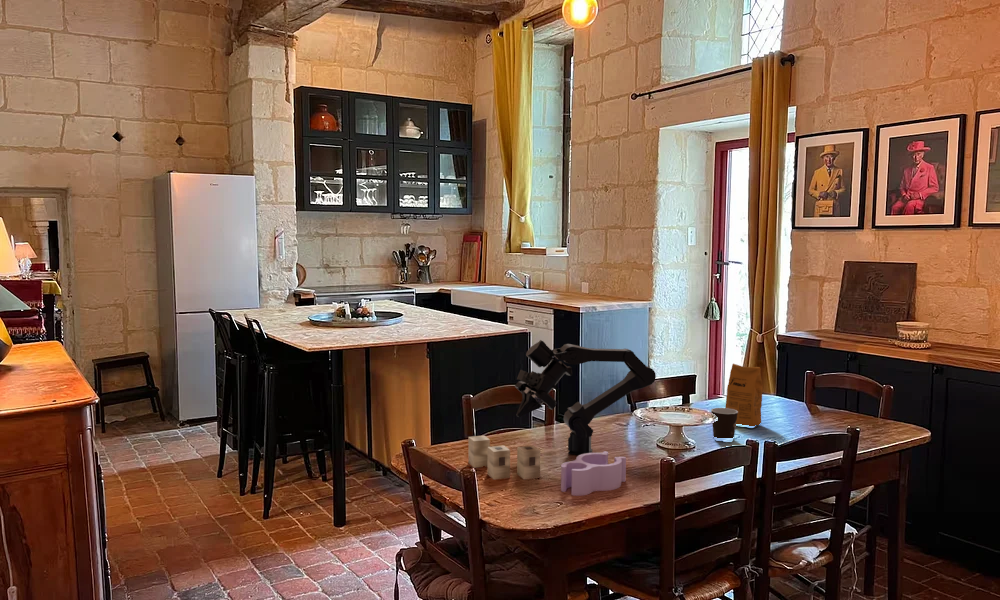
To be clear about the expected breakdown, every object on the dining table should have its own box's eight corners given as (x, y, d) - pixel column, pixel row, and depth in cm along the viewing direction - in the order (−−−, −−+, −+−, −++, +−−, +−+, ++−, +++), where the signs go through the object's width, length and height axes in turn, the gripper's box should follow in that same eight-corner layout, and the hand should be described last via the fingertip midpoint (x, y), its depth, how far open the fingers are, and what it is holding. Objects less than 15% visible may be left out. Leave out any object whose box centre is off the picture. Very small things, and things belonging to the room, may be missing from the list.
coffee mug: (727, 445, 244) (728, 415, 243) (705, 439, 251) (706, 410, 250) (746, 438, 252) (747, 409, 251) (724, 433, 258) (725, 405, 257)
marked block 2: (533, 472, 216) (533, 444, 215) (540, 477, 211) (540, 449, 210) (517, 474, 214) (517, 446, 213) (524, 479, 209) (524, 451, 208)
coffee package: (733, 419, 278) (735, 361, 276) (765, 425, 269) (767, 365, 267) (720, 424, 271) (722, 364, 269) (752, 430, 262) (754, 369, 260)
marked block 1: (503, 472, 215) (504, 444, 215) (510, 477, 211) (510, 449, 210) (487, 474, 214) (487, 446, 213) (493, 479, 209) (493, 451, 208)
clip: (584, 500, 194) (584, 474, 193) (550, 487, 203) (550, 463, 202) (633, 483, 207) (633, 459, 206) (599, 472, 216) (599, 449, 215)
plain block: (484, 461, 226) (484, 435, 225) (489, 465, 221) (489, 439, 220) (468, 462, 224) (468, 436, 223) (473, 467, 219) (473, 441, 219)
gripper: (520, 356, 236) (488, 393, 233) (546, 365, 219) (513, 406, 216) (542, 378, 240) (511, 415, 237) (570, 389, 223) (537, 429, 220)
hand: (517, 416), depth 227 cm, fingers closed
